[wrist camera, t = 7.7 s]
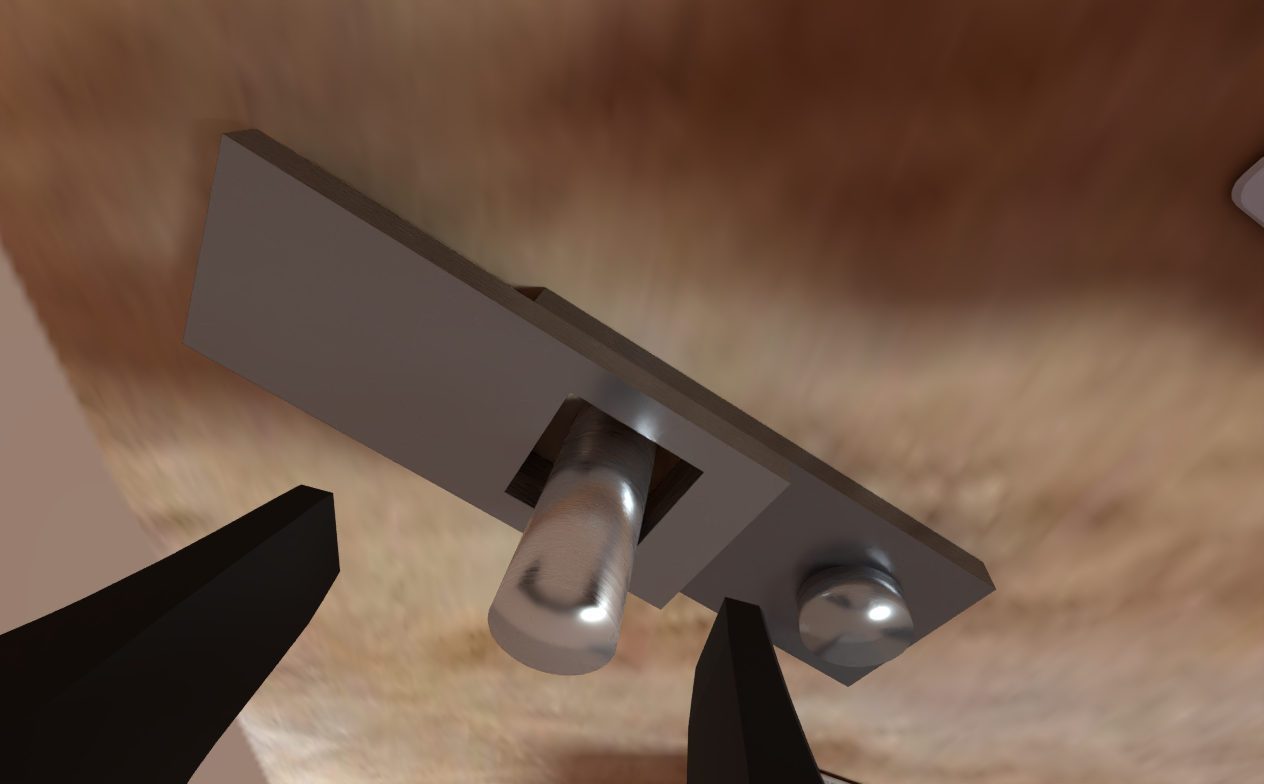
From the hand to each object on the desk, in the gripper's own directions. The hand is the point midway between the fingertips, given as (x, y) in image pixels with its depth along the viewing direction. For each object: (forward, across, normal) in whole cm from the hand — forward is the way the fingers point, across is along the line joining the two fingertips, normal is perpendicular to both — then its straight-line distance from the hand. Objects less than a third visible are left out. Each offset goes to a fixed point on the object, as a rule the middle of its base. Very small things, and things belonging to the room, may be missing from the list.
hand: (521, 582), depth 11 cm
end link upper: (+9, +3, +2) cm, 10 cm away
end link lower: (+9, -4, +5) cm, 11 cm away
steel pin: (+9, 0, +3) cm, 10 cm away
